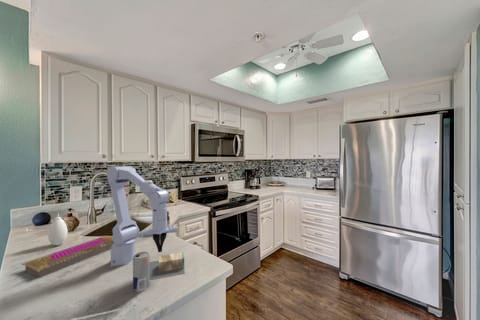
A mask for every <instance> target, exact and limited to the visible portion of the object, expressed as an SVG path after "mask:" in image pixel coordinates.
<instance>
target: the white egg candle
mask: <svg viewBox="0 0 480 320" xmlns="http://www.w3.org/2000/svg"><path fill="white" fill-rule="evenodd" d="M68 232H69V231H68V226H67V224H66V222H65V220H64V219H62V216H60V214H59V212H57V217H55V218H54V220H53V221H52V222H51V225H50V226H49V228H48V235H47V238H48V241H49V242H50V245H53V246H61V245H62V244H63V243H64V242H65V241H66V240H67V237H68V234H69V233H68Z"/></svg>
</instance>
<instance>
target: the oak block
mask: <svg viewBox="0 0 480 320" xmlns="http://www.w3.org/2000/svg"><path fill="white" fill-rule="evenodd" d="M158 261H159V272H164V271H169V270H175V269H180V268H184V269H185V253H184V251H182V252H176V253H171V254H170V253H169V254H164V255H159V259H158Z"/></svg>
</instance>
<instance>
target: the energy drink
mask: <svg viewBox="0 0 480 320" xmlns="http://www.w3.org/2000/svg"><path fill="white" fill-rule="evenodd" d="M150 262H151V260H150V253H149V252H148V251H140V252H137V253H135V255H134V257H133V262H132V290H133V292H136V293H137V292H138V293H139V292H143V291H145V290H148V289H149V287H150V286H151V285H150V283H151V280H150Z"/></svg>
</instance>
